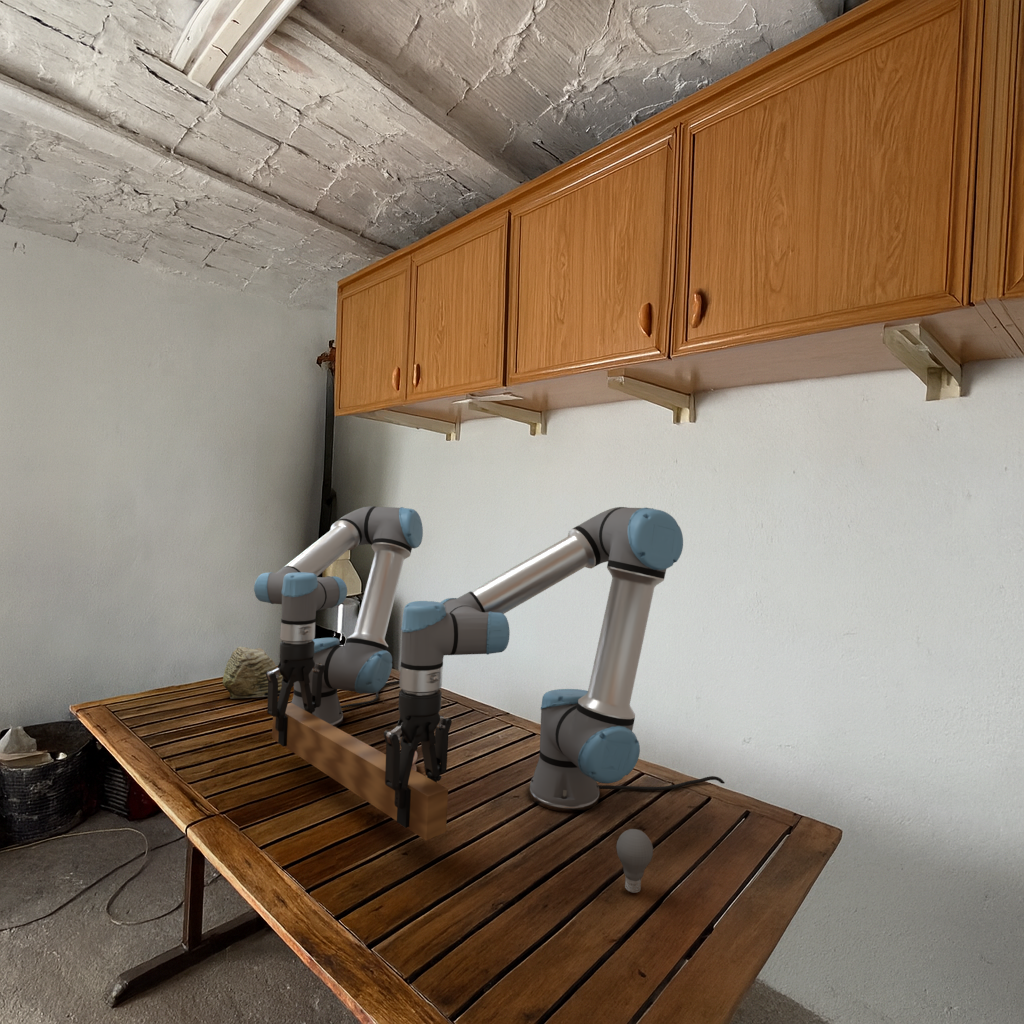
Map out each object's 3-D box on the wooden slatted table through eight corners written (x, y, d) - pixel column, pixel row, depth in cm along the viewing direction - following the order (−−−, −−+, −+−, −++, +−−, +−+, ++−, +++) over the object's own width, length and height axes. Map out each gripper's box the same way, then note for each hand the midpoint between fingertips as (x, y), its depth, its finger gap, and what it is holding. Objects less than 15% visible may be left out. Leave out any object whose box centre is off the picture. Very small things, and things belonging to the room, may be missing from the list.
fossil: (218, 695, 195) (220, 647, 195) (278, 685, 208) (279, 640, 207) (228, 703, 189) (230, 653, 188) (289, 692, 201) (290, 645, 201)
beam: (271, 738, 148) (273, 706, 148) (289, 734, 151) (291, 702, 151) (426, 840, 107) (428, 796, 107) (446, 831, 110) (448, 788, 110)
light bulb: (610, 879, 108) (613, 822, 108) (644, 879, 109) (647, 822, 109) (619, 902, 102) (622, 840, 102) (655, 901, 103) (658, 840, 103)
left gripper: (267, 648, 136) (262, 756, 137) (340, 639, 149) (335, 737, 149) (252, 642, 142) (248, 745, 142) (324, 633, 154) (320, 728, 154)
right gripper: (391, 704, 104) (385, 845, 104) (471, 685, 116) (465, 811, 117) (366, 693, 109) (360, 827, 109) (445, 676, 122) (439, 797, 122)
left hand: (293, 741), depth 145 cm, fingers closed on beam, 4 cm apart
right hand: (414, 819), depth 113 cm, fingers closed on beam, 4 cm apart
